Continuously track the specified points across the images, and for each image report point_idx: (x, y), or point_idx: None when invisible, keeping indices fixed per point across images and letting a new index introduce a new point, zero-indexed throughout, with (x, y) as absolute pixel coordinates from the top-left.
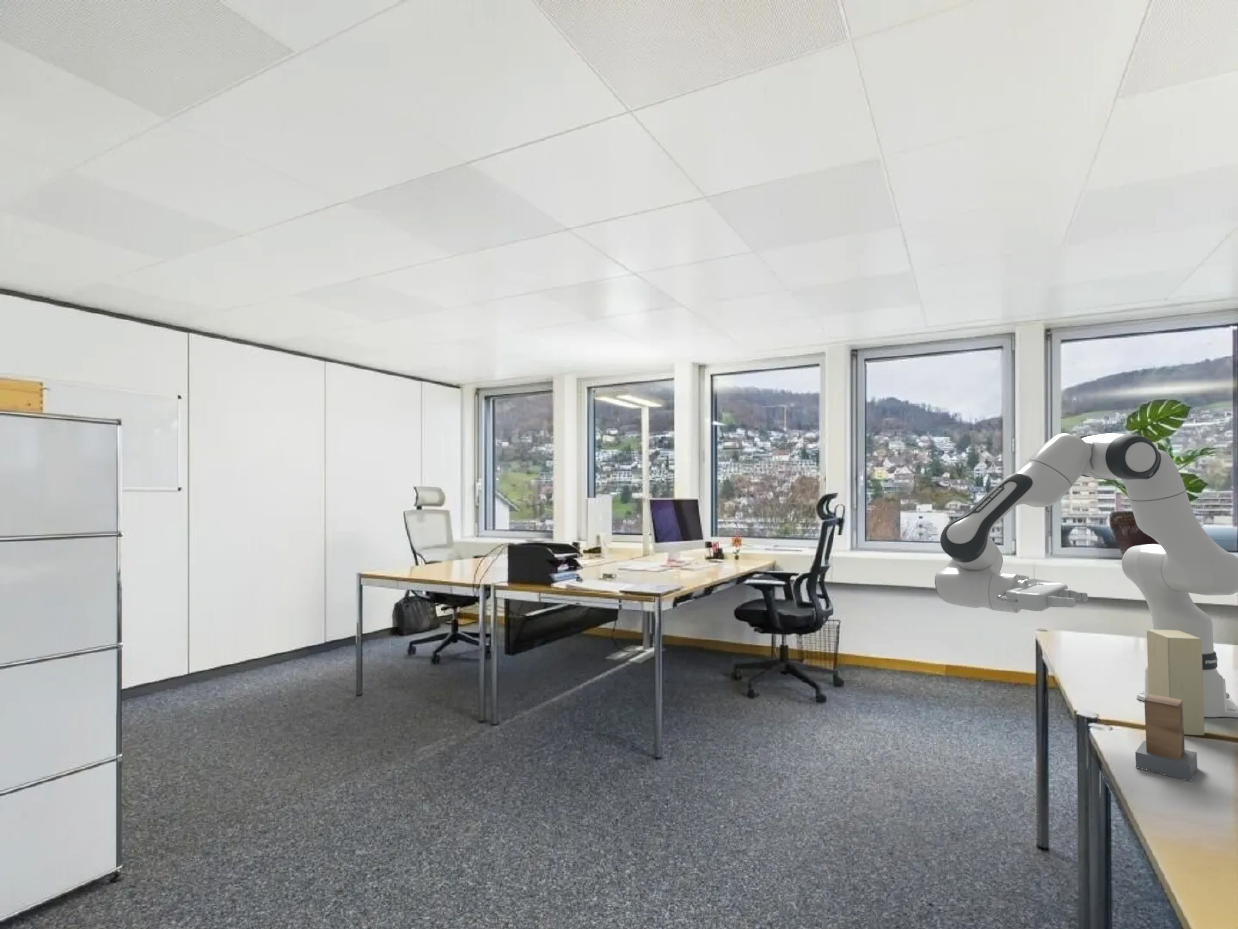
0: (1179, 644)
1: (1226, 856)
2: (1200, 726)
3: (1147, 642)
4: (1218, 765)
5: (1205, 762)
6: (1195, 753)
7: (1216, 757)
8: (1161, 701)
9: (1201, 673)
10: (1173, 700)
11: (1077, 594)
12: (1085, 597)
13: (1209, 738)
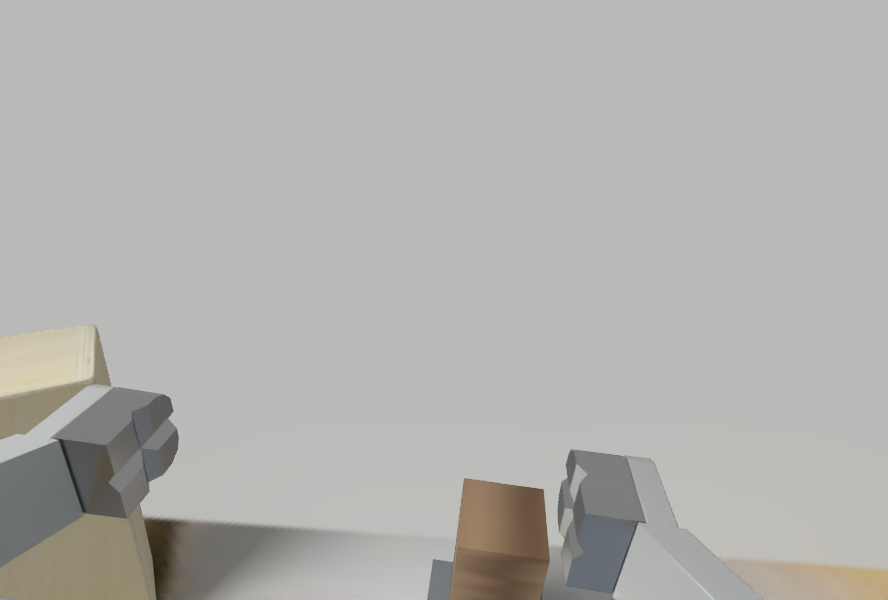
0: (101, 378)
1: (845, 568)
2: (149, 548)
3: None
4: (380, 548)
5: (374, 569)
6: (444, 561)
7: (323, 548)
8: (527, 520)
9: None
10: (490, 495)
11: (117, 453)
12: (164, 422)
13: (173, 551)
